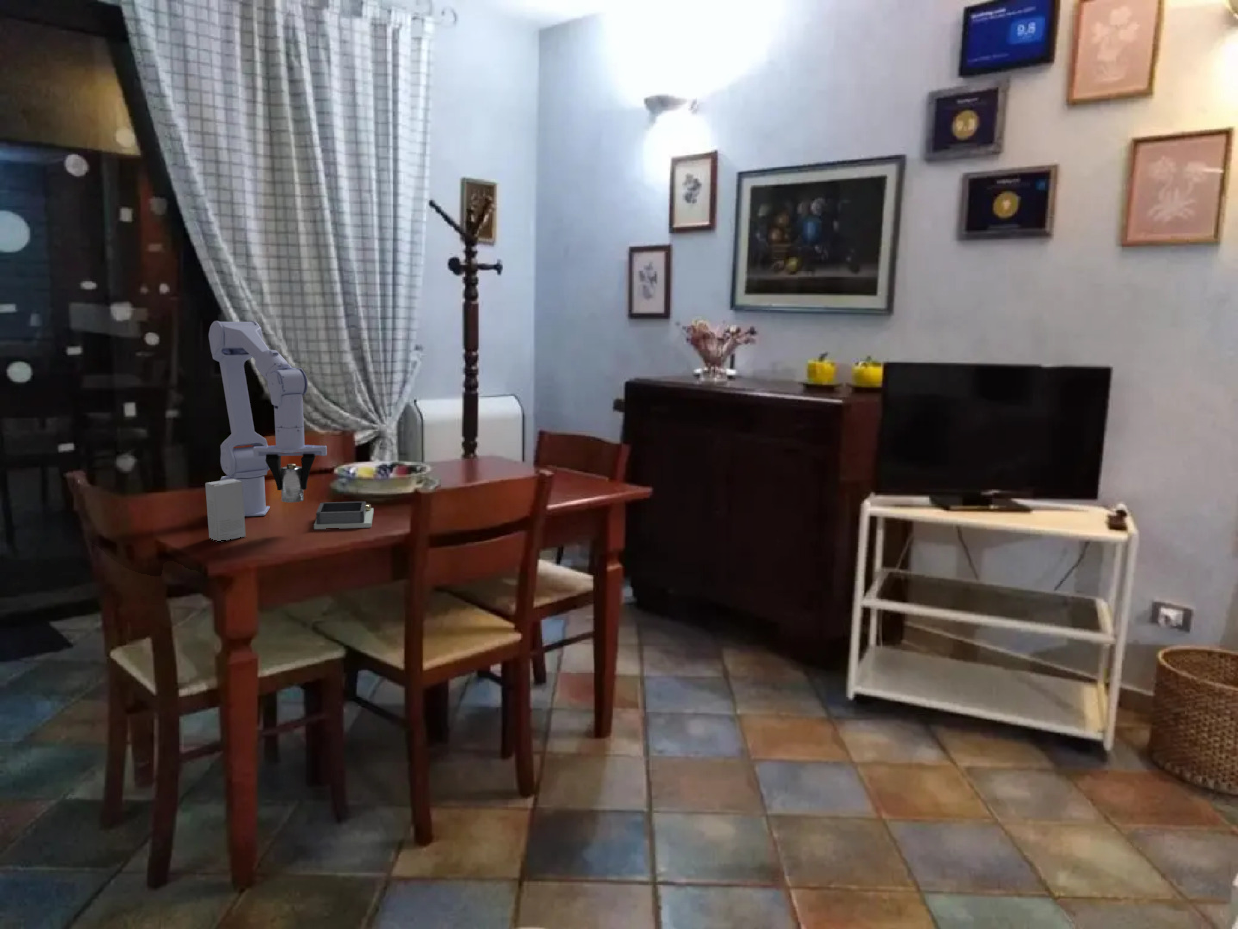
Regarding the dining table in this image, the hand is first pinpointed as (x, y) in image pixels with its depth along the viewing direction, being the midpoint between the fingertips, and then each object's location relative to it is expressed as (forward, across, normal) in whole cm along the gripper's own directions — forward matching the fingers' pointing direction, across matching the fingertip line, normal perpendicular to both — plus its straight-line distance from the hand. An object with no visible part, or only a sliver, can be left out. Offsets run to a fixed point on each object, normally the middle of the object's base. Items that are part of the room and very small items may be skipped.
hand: (292, 489), depth 185 cm
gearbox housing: (+9, +10, +8) cm, 16 cm away
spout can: (+2, 0, 0) cm, 2 cm away
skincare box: (+10, -13, -4) cm, 16 cm away
